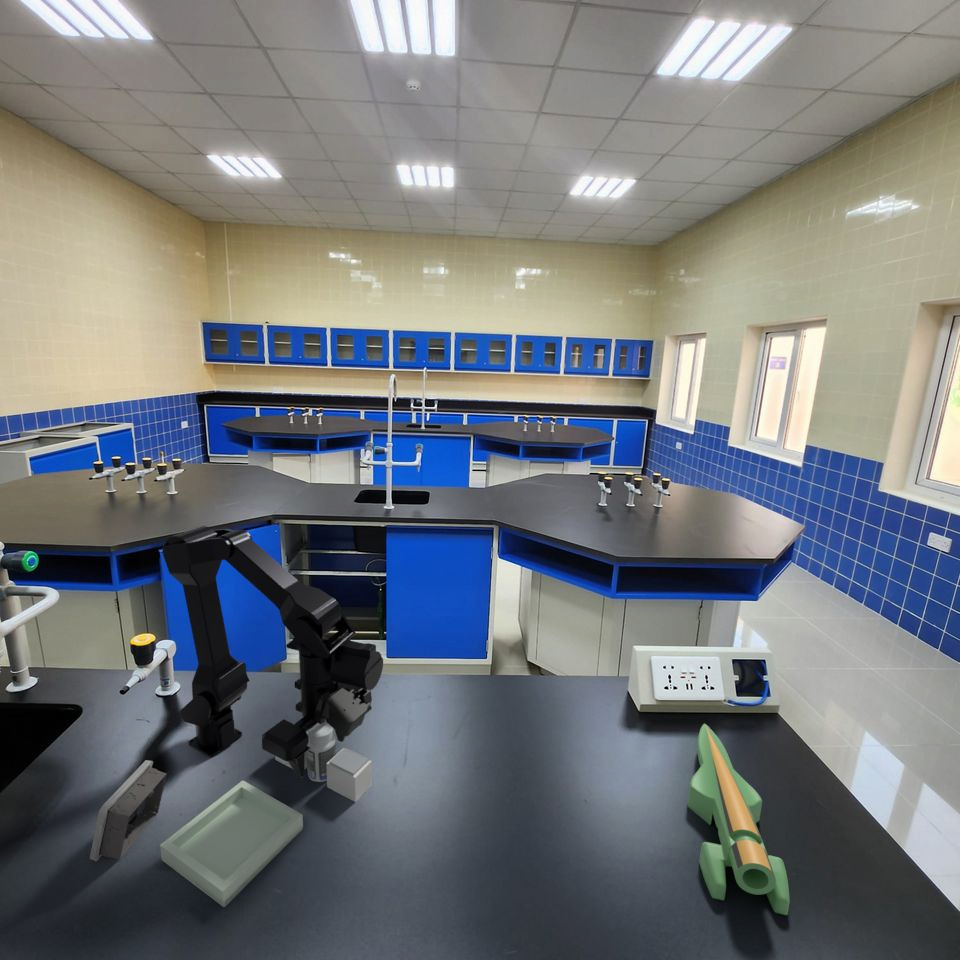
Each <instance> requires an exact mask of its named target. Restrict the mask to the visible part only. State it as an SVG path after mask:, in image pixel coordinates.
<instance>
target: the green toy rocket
mask: <svg viewBox="0 0 960 960" xmlns="http://www.w3.org/2000/svg"><path fill="white" fill-rule="evenodd" d="M696 744H697V745H696V749H697V750H696V751H697V757H698V762H699V766H700V767H699V768H698V769H697V771H696V772H695V773H694V775H693V776H692V777H691V780H690V783H689V791H688V797H687V807H688V809H690V810H691V811H692V812H693V813H694V814H696V815H697V816H698V817H700V818H701V819H702V820H703V821H705V822H706V823H707V824H708V825H709V826H711V824H712V820H713V819H714V822H715V827H716V828H717V834H718V837H719V842H720V844H718V843H713V842H708V841H704V842H702V843H701V847H700V852H699V853H700V854H699V862H698V863H699V867H700V870H701V872H702V873H701V874H702V876H703V879H704V883H705V885H706V887H707V889H708V892H709V894H710V896H711V898H712V899H715V900H720V901H725V897H726V892H727V879H726V867H732V870H733V875H734V879H735V881H736V884H737V885H738V887H739V888H740V889H741V890H743V891H745V892H746V893H749V894H751V895H757V896H758V895H760V896H761V895H765V894H766V897H767V898H768V902H769V904H770V905H771V908H772V910H773V911H774V913H776V914H780V915H783V916H788V914H789V907H790V904H791V903H790V890H789V889H790V888H789V882H788V876H787V870H786V867H785V862H784V860H783V859H782V858H780V857H778V856H774V855H769V854H768V851H767V850H766V847H765V844H764V841H763V839H762V835H761V834H760V831H759V828H758V827H757V823H758V822H759V821H760V818H761V812H762V805H763V799H762V798H761V796H760V795H759V792H757V790H755V788H753V786H752V785H750V783H748V782H747V781H746V780H745V779H744V778H743V777H742V775H740V774H739V773H738V772H737V771H736V769H734V767H733V764H732V762H731V759H730V757H729V754H728V752H727V750H726V748H725V746H724V744H723V742H722V741H721V739H720V738H719V737H718V736H717V734H715V732H714V731H713V730H712V729H711V727H710V726H709V725H707V724H706V723H703V724H702V725H701V727H700V729H699V733H698V737H697V743H696Z"/></svg>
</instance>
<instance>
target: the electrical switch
mask: <svg viewBox="0 0 960 960" xmlns="http://www.w3.org/2000/svg"><path fill="white" fill-rule="evenodd" d="M153 764H154V761H153V760H147V759H146V760H144V761H143V763H142V764H141V765H139V767H138V768H137V769H135V771H134V772H132V774H131V775H130V776H129V777H128V778H127V779H126V780H125V781H124V782H123V783H122V785H120V786H119V788H118V789H117V790H116V791H114V793H113V794H111V796H110V797H109V798H108V799H107V800H106V801H105V802H104V803H103V805H101V807H100V809H99V811H98V813H97V814H98V815H97V819H96V824H95V827H94V828H95V829H94V834H93V839H92V846H91V850H90V855H89V859H90V860H92V861H94V862H98V861H99V860H100V859H101V858H102V856H103V857H105V858H112V859H115V860H118V861H120V860H121V859H122V858H123V857H124V855H125V854H126V853H127V852H128V851H129V849H130V848H131V847H132V845H133V844H134V843H135V842H136V841H137V839H138V838H139V837H140V836H141V834H142V833H144V831H145V830H146V829H147V827H148V826H149V825H150V823H151V822H152V821H153V819H154V818H155V817H156V816H157V814H158V813H159V809H160V805H161V801H162V797H163V796H162V795H163V792H164V788H165V783H166V778H167V775H168V774H167V772H163V771H160V770H158V769H157V768H153ZM127 830H129V831H131V832H130V833H129V834H128V833H127Z"/></svg>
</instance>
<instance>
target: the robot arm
mask: <svg viewBox="0 0 960 960" xmlns="http://www.w3.org/2000/svg"><path fill="white" fill-rule="evenodd" d="M162 555H163V559H164V562H165V564H166V568H167V571H168V574H170V575H171V576H172V577H173V579H175V580H176V581H177V582H178V583H180V585H181V586H182V589H183V593H184V598H185V604H186V608H187V613H188V619H189V622H190V628H191V633H192V638H193V643H194V644H193V645H194V649H195V653H196V658H197V667H196V669H195V670H196V671H195V673H194V676H193V679H192V680H191V691H192V692H191V693H192V699H191V700H190V701H189V702H188V703H187V704H186V705H185V706H184V707H182V708H181V709H180V715H181V717H182V720H183V722H185V723H187V724H191V725H194V726H195V733H196V735H195V737H193V738H191V739H189V740H188V745H189V746H190V747H192V748H194V749H196V750H197V751H200V753H203V754H204V755H206V756H208V757H209V758H210V757H213V756H215V755H217V754H218V753H219V752H221V751H222V750H224V749H225V748H227V747H228V746H230V745H231V744H233V743H234V742H235V741H237V740H238V739H240V738H241V737H242V736H243V731H241V730H240V729H239V730H238V729H236V727H235V720H234V712H233V709H232V705H234V704H235V703H236V702H239V701H240V700H241V698H242V696H243V694H244V693H245V692H246V691H247V690H248V682H250V679H249V676H248V674H247V664H246V663H245V661H238V660H237V658H235V657H233V656H232V655H231V652H230V647H229V642H228V637H227V630H226V626H225V620H224V615H223V610H222V604H221V598H220V594H219V587H218V583H217V575H218V572H219V570H220V567H221V564H222V561H226V562H227V563H228V564H229V565H230V566H231V567H233V569H235V571H237V573H239V574H240V575H241V576H242V577H243V578H245V580H247V581H248V582H249V583H250V584H251V585H252V586H253V587H254V588H256V589H257V591H258V592H260V593H261V594H263V595H264V596H265V597H266V598H267V599H268V600H269V601H270V602H271V603H272V604H274V606H275V607H276V608H277V609H278V612H279V614H280V618H281V622H282V624H283V626H285V628H286V629H287V630H288V631H289V633H290V634H292V636H293V639H292V640H290V641H289V642H288V643H287V644H286V648H287V649H288V650H289V649H290V650H293V651H298V663H299V665H298V666H299V679H297V680H295V681H294V688H295V689H298V690H300V701H299V702H297V703H295V711H297V712H300V713H301V716H302V718H300V719H298V720H297V721H296V722H295V723H294V724H293V723H292V722H291V721H288V720H287V719H282V720H281V721H279V722H278V723H276V724H275V725H274V726H272V727H271V728H269V729H268V730H266V731H265V732H264V733H263V734H262V735H261V749H262V750H263V751H265V752H267V753H269V754H271V755H273V756H274V757H275V756H277V757H278V758H280V759H282V760H284V761H288V762H289V764H290V765H291V767H292V768H293V769H292V768H291V769H292V770H293V771H294V772H295V775H296V776H298V777H299V778H303V777H304V776H305V769H304V753H305V752H306V751H307V750H308V749H310V747H308V746H307V745H308V743H309V736H308V734H307V733H308V732H309V731H310V730H312V729H313V728H314V727H315V726H317V725H318V724H322V723H323V722H325V721H326V722H327V723H328V724H329V725H330V726H332V727H333V730H334V733H335V737H336V740H337V741H339V742H341V743H343V742H344V741H345V738H347V737H349V736H350V735H351V734H352V733H353V732H354V731H355V730H356V729H357V728H358V727H361V725H362V724H363V723H364V719H365V716H366V715H367V714H368V713H369V712H370V711H372V708H373V707H372V705H371V704H372V702H373V701H372V700H373V697H372V690H373V689H375V687H377V685H378V683H379V681H380V678H381V675H382V673H383V670H384V669H383V668H384V667H383V666H384V657H382V653H381V652H380V651H377V646H376V644H374V643H367V642H366V643H365V642H359V641H358V642H357V641H354V640H351V639H352V637H354V636H355V635H356V631H355V629H354V628H353V626H352V624H351V622H350V621H349V620H348V618H347V617H346V615H345V614H344V612H343V610H341V609H342V606H341V605H340V603H339V602H338V601H337V599H336V598H334V597H332V596H331V595H329V594H328V593H326V592H325V591H324V590H322V589H321V588H319V587H314V586H310V585H307V584H304V583H302V582H301V581H300V580H298V579H297V578H296V577H295V576H294V575H293V574H291V573H290V572H289V571H288V570H287V569H285V567H284V566H282V565H281V564H280V563H279V562H278V561H277V560H276V559H274V558H273V557H272V556H271V555H270V554H269V553H268V552H267V551H265V549H263V548H262V547H261V546H260V545H258V543H256V542H255V541H254V540H253V538H252V535H251V534H250V533H249V532H248V531H246V530H245V529H236V530H232V529H229V528H222V529H221V528H220V529H213V528H212V527H209V526H206V525H203V526H198V527H195V528H193V529H189V530H186V531H185V532H184V531H183V532H180V533H178V534H174V535H172V536H170V537H168V538H167V539H166V541H165V543H163V545H162ZM334 629H336V630H337V632H335V633H334V634H332V636H330V637H329V638H328V637H326V636H327V634H329V633H330V632H332V631H333V630H334Z"/></svg>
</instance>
